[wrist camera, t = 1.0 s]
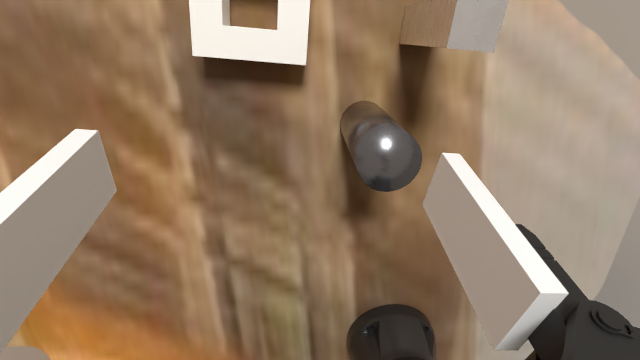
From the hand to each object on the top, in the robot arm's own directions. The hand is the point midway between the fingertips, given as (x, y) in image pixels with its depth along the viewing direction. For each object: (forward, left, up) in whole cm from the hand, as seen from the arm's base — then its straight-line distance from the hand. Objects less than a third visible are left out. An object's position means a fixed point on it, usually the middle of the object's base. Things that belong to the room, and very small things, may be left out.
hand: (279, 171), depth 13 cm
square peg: (+7, -14, -29) cm, 34 cm away
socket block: (+8, +5, -29) cm, 31 cm away
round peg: (-5, -9, -29) cm, 31 cm away
